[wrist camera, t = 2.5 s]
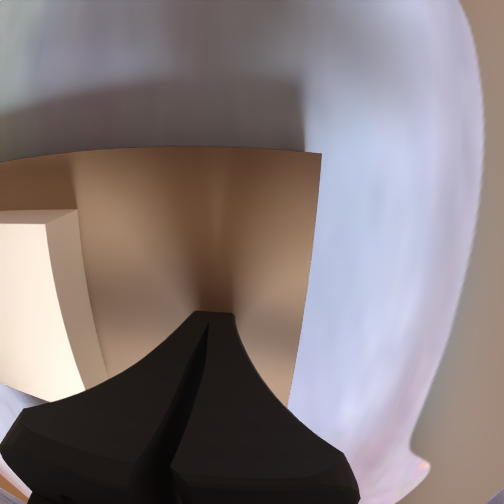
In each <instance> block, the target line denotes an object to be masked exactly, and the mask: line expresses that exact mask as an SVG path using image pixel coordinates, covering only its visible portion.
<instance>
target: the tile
mask: <svg viewBox="0 0 504 504" xmlns="http://www.w3.org/2000/svg"><path fill="white" fill-rule="evenodd" d="M108 379H109V378H108V375H107V371H106V368H105V364H104V361H103V357H102V353H101V349H100V345H99V341H98V337H97V333H96V329H95V324H94V320H93V315H92V310H91V305H90V300H89V295H88V289H87V283H86V277H85V271H84V264H83V257H82V249H81V240H80V231H79V220H78V209H54V210H8V211H0V383H3V384H5V385H7V386H10V387H12V388H14V389H17V390H19V391H22V392H24V393H27V394H30V395H32V396H35V397H38V398H40V399H43V400H46V401H49V402H54V401H57V400H60V399H63V398H66V397H69V396H72V395H75V394H78V393H80V392H83V391H85V390H87V389H90V388H92V387H94V386H96V385H98V384H100V383H102V382H104V381H106V380H108Z"/></svg>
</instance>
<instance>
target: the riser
mask: <svg viewBox="0 0 504 504" xmlns="http://www.w3.org/2000/svg"><path fill="white" fill-rule="evenodd" d="M321 158H322V154H320V153H311V152H300V151H289V150H276V149H260V148H241V147H208V146H167V147H134V148H116V149H101V150H89V151H78V152H68V153H59V154H51V155H43V156H36V157H29V158H22V159H16V160H10V161H4V162H0V211H8V210H54V209H78V220H79V231H80V240H81V249H82V257H83V264H84V271H85V277H86V283H87V289H88V295H89V300H90V305H91V310H92V315H93V320H94V324H95V329H96V333H97V337H98V341H99V345H100V349H101V353H102V357H103V361H104V364H105V368H106V371H107V375H108V378H109V379H110V378H112V377H114V376H116V375H118V374H119V373H121V372H123V371H124V370H126V369H128V368H129V367H131V366H132V365H134V364H135V363H137V362H138V361H140V360H141V359H142V358H144V357H145V356H146V355H147V354H149V353H150V352H151V351H152V350H153V349H155V348H156V347H157V346H158V345H160V344H161V343H162V342H163V341H164V340H165V339H166V338H167V337H168V336H169V335H170V334H171V333H173V332H174V331H175V330H176V329H177V328H178V327H179V326H180V325H181V324H182V323H183V322H184V321H185V320H186V318H187V317H188V316H189V315H190V314H191V313H192V312H194V311H195V310H196V311H210V312H226V313H233V314H234V315H235V322H236V326H237V330H238V333H239V336H240V338H241V341H242V343H243V345H244V348H245V350H246V352H247V354H248V356H249V358H250V360H251V361H252V363H253V365H254V366H255V368H256V370H257V371H258V373H259V375H260V376H261V377H262V379H263V380H264V382H265V383H266V384H267V386H268V387H269V388H270V390H271V391H272V392H273V393H274V395H275V396H276V397H277V398H278V399H279V401H280V402H281V403H282V404H283V405H284V406H285V407H286V408H287V405H288V400H289V395H290V390H291V384H292V379H293V374H294V368H295V363H296V357H297V351H298V345H299V339H300V333H301V327H302V321H303V314H304V307H305V301H306V294H307V287H308V279H309V272H310V264H311V256H312V248H313V240H314V231H315V222H316V213H317V203H318V193H319V182H320V170H321Z"/></svg>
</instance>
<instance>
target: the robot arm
mask: <svg viewBox="0 0 504 504" xmlns="http://www.w3.org/2000/svg"><path fill="white" fill-rule="evenodd" d="M0 453H1V455H2V457H3V459H4V461H5V462H6V463H7V465H8V466H9V467H10V468H11V469H12V471H13V472H14V473H15V474H16V475H17V476H18V477H19V478H20V479H21V480H22V481H23V482H24V483H25V484H26V486H27V487H28V488H29V489H30V490H31V491H32V494H31V496H30V498H29V500H28V503H25V502H24V501H22V500H20V499H18V498H16V497H15V496H13V495H11V494H10V493H8V492H6V491H5V490H3V489H1V488H0V504H358V502H359V500H360V499H361V498H360V494H359V488H358V484H357V481H356V478H355V476H354V474H353V472H352V469H351V467H350V465H349V463H348V461H347V459H346V457H345V455H344V453H342V452H341V451H339V450H338V449H336V448H335V447H333V446H332V445H330V444H329V443H327V442H326V441H324V440H323V439H322V438H320V437H319V436H317V435H316V434H315V433H314V432H312V431H311V430H310V429H309V428H308V427H306V426H305V425H304V424H303V423H302V422H300V421H299V420H298V419H297V418H296V417H295V416H294V415H293V414H292V413H291V412H290V411H289V410H288V409H287V408H286V407H285V406H284V405H283V404H282V403H281V402H280V401H279V399H278V398H277V397H276V396H275V395H274V393H273V392H272V391H271V390H270V388H269V387H268V386H267V384H266V383H265V382H264V380H263V379H262V377H261V376H260V375H259V373H258V371H257V370H256V368H255V366H254V365H253V363H252V361H251V360H250V358H249V356H248V354H247V352H246V350H245V348H244V345H243V343H242V341H241V338H240V336H239V333H238V330H237V326H236V322H235V315H234V314H233V313H226V312H210V311H196V310H195V311H194V312H192V313H191V314H190V315H189V316H188V317H187V318H186V320H185V321H184V322H183V323H182V324H181V325H180V326H179V327H178V328H177V329H176V330H175V331H174V332H173V333H171V334H170V335H169V336H168V337H167V338H166V339H165V340H164V341H163V342H162V343H161V344H160V345H158V346H157V347H156V348H155V349H153V350H152V351H151V352H150V353H149V354H147V355H146V356H145V357H144V358H142V359H141V360H140V361H138V362H137V363H135V364H134V365H132V366H131V367H129V368H128V369H126V370H124V371H123V372H121V373H119V374H118V375H116V376H114V377H112V378H110V379H108V380H106V381H104V382H102V383H100V384H98V385H96V386H94V387H92V388H90V389H87V390H85V391H83V392H80V393H78V394H75V395H72V396H69V397H66V398H63V399H60V400H57V401H54V402H50V403H46V404H42V405H38V406H34V407H29V408H24V409H23V410H22V412H21V413H20V414H19V416H18V417H17V419H16V420H15V422H14V423H13V425H12V427H11V428H10V430H9V431H8V433H7V434H6V436H5V437H4V439H3V441H2V442H1V444H0ZM484 504H504V488H502V489H501V490H499V491H498V492H497V493H496V494H495V495H494V496H492V497H491V498H490V499H489V501H488V502H486V503H484Z"/></svg>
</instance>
